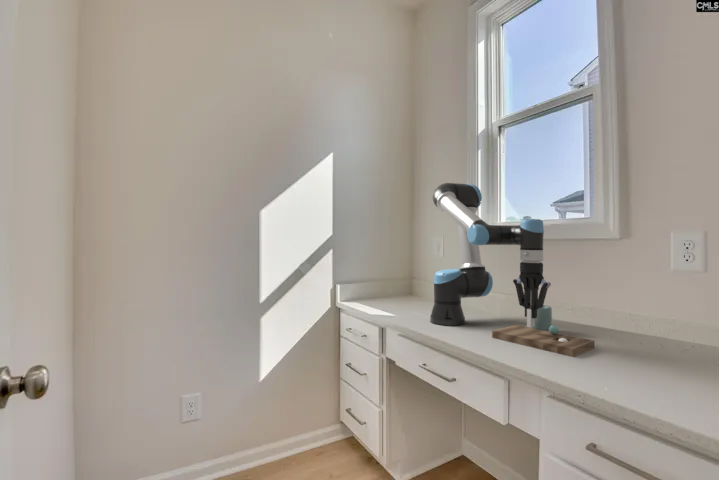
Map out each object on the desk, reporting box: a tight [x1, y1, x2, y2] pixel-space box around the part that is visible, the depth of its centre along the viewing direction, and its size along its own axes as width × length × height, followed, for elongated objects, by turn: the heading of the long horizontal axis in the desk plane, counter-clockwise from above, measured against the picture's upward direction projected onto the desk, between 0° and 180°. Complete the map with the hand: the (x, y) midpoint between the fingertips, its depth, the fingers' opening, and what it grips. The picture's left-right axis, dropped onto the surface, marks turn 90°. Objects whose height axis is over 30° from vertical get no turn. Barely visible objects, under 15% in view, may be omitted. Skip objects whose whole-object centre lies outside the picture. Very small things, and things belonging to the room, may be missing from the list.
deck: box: [491, 324, 596, 358], centre depth 125 cm, size 28×16×2 cm, turn 36°
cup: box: [530, 304, 553, 332], centre depth 141 cm, size 8×8×10 cm
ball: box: [558, 338, 568, 342], centre depth 119 cm, size 3×3×3 cm
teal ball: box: [549, 324, 560, 334], centre depth 126 cm, size 3×3×3 cm
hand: (530, 326), depth 128 cm, fingers closed
